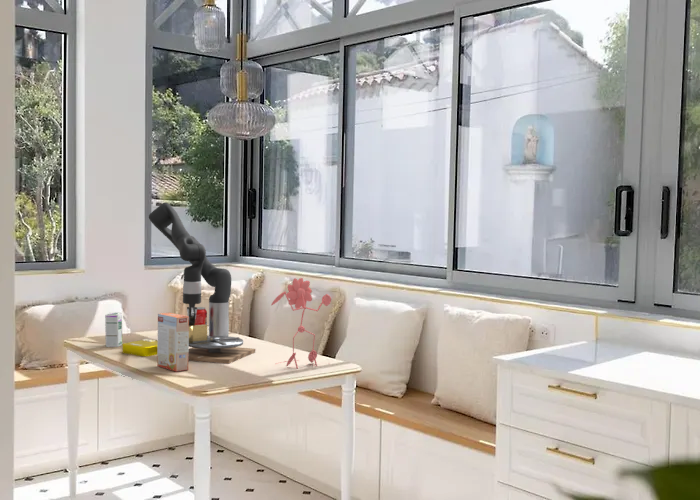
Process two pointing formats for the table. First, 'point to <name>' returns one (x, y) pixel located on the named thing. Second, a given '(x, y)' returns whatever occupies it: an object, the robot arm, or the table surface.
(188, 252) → the robot arm
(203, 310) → the soda can
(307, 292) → the figurine
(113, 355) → the table surface
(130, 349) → the element tile
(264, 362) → the table surface
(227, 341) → the handwheel
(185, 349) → the cracker box
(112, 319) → the syrup box
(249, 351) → the winch base
